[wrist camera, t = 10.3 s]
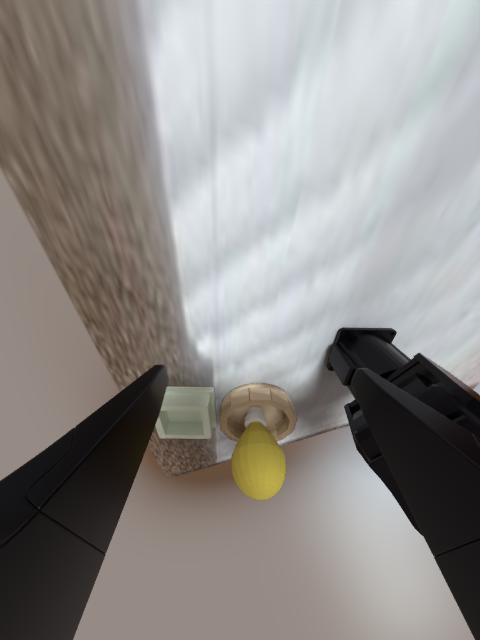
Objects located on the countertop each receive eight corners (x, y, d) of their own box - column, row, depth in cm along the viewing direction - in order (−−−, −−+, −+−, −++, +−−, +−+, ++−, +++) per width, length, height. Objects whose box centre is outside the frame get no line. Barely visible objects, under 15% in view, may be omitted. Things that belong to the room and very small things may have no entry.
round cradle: (297, 383, 26) (302, 400, 24) (285, 427, 32) (289, 444, 29) (220, 382, 26) (218, 399, 24) (222, 426, 32) (221, 444, 29)
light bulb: (282, 417, 29) (300, 504, 20) (244, 428, 31) (245, 512, 22) (266, 392, 26) (280, 481, 17) (225, 405, 28) (218, 492, 19)
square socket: (213, 387, 27) (211, 404, 24) (216, 423, 31) (214, 440, 29) (152, 386, 27) (143, 403, 24) (163, 422, 31) (157, 439, 29)
